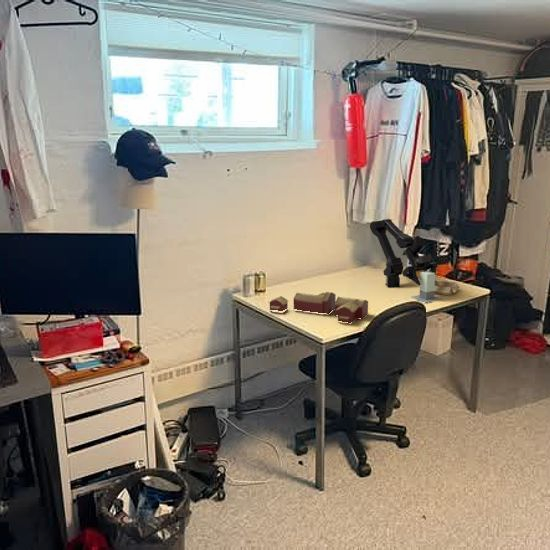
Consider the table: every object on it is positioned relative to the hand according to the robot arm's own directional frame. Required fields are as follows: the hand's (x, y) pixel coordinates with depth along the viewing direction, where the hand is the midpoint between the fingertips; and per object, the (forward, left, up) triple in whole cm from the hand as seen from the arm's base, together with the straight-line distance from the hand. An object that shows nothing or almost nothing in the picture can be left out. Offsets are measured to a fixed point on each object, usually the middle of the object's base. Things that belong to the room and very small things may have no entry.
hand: (427, 283), depth 269 cm
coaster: (0, 0, -8) cm, 8 cm away
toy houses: (-58, -13, -8) cm, 60 cm away
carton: (+12, +10, -8) cm, 18 cm away
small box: (+8, +42, -8) cm, 44 cm away
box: (0, 0, -7) cm, 7 cm away
